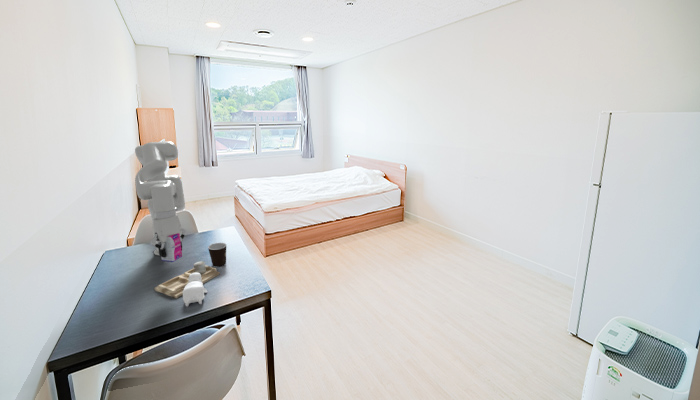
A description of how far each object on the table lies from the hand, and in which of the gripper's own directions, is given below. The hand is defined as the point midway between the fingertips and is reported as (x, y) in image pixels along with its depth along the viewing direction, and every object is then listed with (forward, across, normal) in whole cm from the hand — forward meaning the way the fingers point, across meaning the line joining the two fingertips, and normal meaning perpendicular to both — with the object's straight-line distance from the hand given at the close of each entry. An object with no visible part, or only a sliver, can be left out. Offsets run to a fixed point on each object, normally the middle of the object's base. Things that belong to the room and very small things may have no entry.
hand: (171, 253), depth 136 cm
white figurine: (+17, +1, +13) cm, 22 cm away
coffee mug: (+17, -26, -2) cm, 32 cm away
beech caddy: (+17, -6, 0) cm, 18 cm away
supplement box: (+3, 0, 0) cm, 3 cm away
